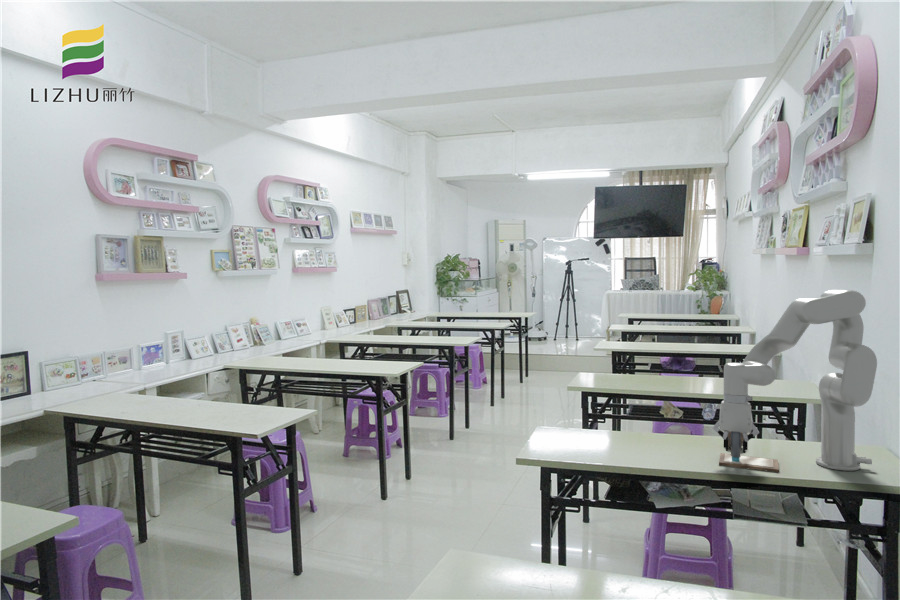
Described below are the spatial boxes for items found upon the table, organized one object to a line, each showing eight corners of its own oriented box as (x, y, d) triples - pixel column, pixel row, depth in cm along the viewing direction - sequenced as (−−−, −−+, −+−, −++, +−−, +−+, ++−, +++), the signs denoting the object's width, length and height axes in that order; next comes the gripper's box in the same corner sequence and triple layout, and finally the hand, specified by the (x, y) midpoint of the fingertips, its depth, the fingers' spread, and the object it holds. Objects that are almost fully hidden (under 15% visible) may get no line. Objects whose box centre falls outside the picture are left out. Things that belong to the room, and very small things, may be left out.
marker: (740, 459, 201) (740, 425, 201) (740, 462, 199) (740, 427, 198) (730, 458, 203) (731, 424, 202) (730, 461, 200) (731, 426, 200)
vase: (740, 445, 224) (740, 422, 223) (747, 450, 217) (747, 426, 217) (721, 444, 224) (721, 422, 224) (728, 449, 218) (728, 426, 217)
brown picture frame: (777, 462, 202) (777, 459, 202) (778, 472, 191) (778, 468, 191) (720, 455, 210) (720, 452, 210) (718, 465, 200) (718, 461, 199)
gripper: (763, 398, 199) (763, 451, 200) (709, 394, 207) (709, 445, 208) (763, 403, 193) (763, 457, 193) (708, 398, 201) (708, 450, 201)
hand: (735, 450), depth 201 cm, fingers open, 4 cm apart
